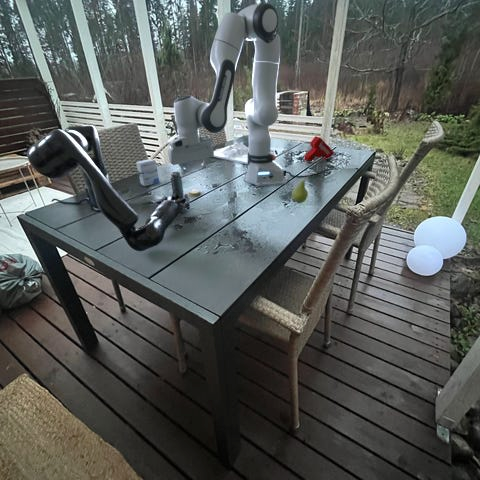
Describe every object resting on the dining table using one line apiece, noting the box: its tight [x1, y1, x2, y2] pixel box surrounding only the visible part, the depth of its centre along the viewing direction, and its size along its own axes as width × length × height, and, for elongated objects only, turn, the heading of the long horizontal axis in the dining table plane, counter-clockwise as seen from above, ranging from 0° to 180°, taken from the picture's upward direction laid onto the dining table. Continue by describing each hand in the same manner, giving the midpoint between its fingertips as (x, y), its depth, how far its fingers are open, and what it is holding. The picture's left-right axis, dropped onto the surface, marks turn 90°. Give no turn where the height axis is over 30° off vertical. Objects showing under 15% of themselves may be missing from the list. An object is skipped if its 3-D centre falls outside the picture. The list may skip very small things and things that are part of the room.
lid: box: [188, 188, 201, 197], centre depth 129 cm, size 5×5×2 cm
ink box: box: [135, 158, 160, 187], centre depth 139 cm, size 8×5×12 cm, turn 135°
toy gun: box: [303, 135, 335, 164], centre depth 171 cm, size 18×4×15 cm
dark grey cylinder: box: [170, 171, 187, 215], centre depth 110 cm, size 4×4×17 cm
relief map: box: [212, 141, 272, 165], centre depth 185 cm, size 27×35×5 cm
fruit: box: [291, 174, 311, 204], centre depth 118 cm, size 7×8×12 cm
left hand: (180, 195), depth 113 cm, fingers closed on dark grey cylinder, 4 cm apart
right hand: (194, 170), depth 124 cm, fingers open, 8 cm apart
